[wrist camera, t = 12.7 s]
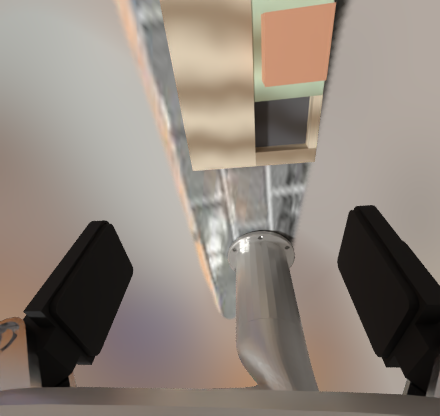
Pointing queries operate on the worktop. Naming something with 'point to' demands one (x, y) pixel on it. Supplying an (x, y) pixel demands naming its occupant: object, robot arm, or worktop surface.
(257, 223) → the worktop surface
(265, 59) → the block
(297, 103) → the board
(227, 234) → the worktop surface
